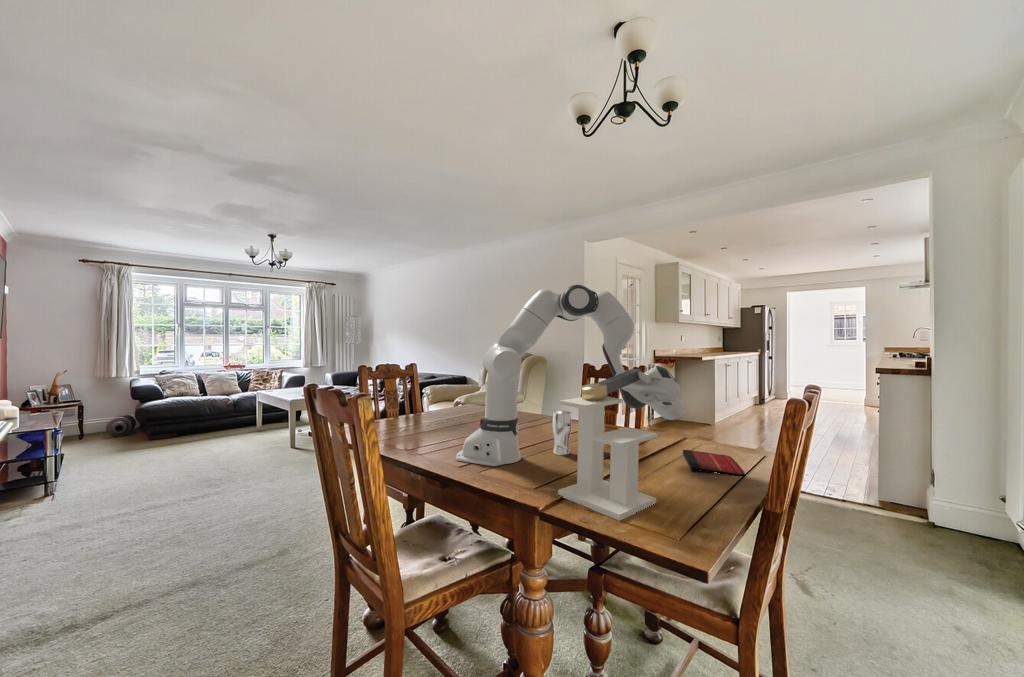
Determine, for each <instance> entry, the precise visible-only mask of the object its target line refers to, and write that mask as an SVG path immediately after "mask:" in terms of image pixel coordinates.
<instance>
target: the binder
mask: <svg viewBox="0 0 1024 677" xmlns="http://www.w3.org/2000/svg"><path fill="white" fill-rule="evenodd" d="M682 455H683V458H684V459H685V461H686V463H687V465H688V467H689V469H690V470H691V473H694V471H699V470H701V471H708V472H707V473H711V472H717V473H720V474H728V475H727V476H732V475H734V477H745V473H744V471H743V470H742V468H741V467H740V465H739V464H738V463H737V462H736V461H735V459H733V457H731V456H729V455H727V454H718V453H712V452H707V451H706V452H704V451H700V450H699V451H698V450H693V449H692V450H691V449H683V450H682ZM701 471H700V472H701ZM720 474H719V475H720Z"/></svg>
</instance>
